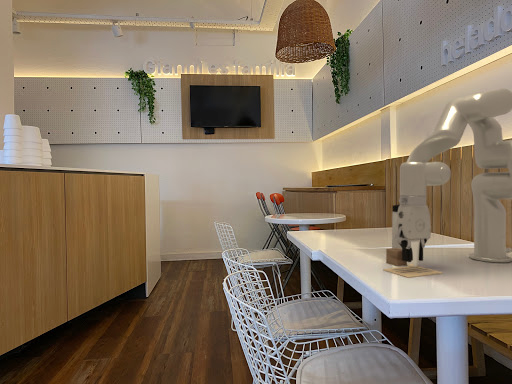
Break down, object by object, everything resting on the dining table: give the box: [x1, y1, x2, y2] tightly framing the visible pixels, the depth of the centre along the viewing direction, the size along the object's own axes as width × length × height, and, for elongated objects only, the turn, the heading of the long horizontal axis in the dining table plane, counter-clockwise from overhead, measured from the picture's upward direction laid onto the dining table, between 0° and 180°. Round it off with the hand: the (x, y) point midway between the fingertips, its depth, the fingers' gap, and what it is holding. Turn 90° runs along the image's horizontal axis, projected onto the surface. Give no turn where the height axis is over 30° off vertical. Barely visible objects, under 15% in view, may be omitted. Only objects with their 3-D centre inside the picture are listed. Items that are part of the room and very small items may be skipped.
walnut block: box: [385, 247, 407, 267], centre depth 115 cm, size 5×5×5 cm
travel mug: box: [391, 204, 402, 249], centre depth 133 cm, size 6×7×20 cm
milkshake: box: [405, 239, 420, 267], centre depth 105 cm, size 4×5×10 cm
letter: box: [382, 265, 444, 279], centre depth 104 cm, size 14×10×1 cm
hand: (412, 260), depth 104 cm, fingers closed on milkshake, 4 cm apart
